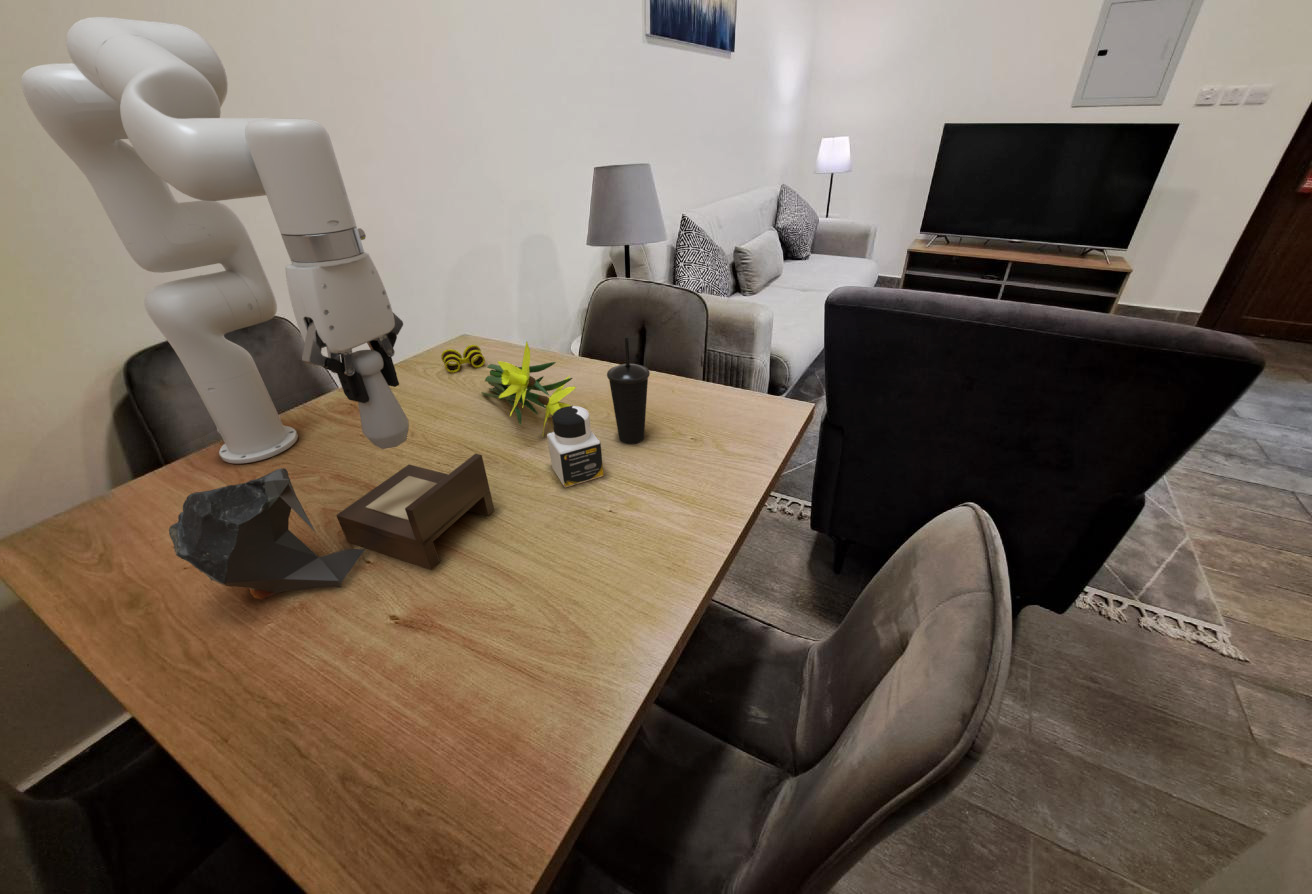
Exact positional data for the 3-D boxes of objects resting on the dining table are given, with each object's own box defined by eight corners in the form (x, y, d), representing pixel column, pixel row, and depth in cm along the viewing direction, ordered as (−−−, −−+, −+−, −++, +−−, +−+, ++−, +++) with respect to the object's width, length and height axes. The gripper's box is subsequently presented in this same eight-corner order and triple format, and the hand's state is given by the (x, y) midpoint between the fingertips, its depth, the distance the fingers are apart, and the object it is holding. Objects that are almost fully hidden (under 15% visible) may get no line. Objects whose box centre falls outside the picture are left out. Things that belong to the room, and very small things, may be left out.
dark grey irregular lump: (270, 546, 78) (214, 443, 69) (372, 547, 78) (329, 442, 68) (196, 625, 66) (116, 513, 56) (316, 626, 66) (255, 513, 56)
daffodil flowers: (541, 381, 127) (611, 395, 98) (500, 427, 123) (560, 456, 95) (488, 329, 118) (548, 329, 89) (443, 378, 115) (490, 393, 86)
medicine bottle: (564, 488, 88) (556, 426, 82) (551, 467, 94) (542, 407, 87) (604, 476, 91) (598, 415, 84) (589, 457, 96) (582, 398, 90)
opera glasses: (447, 377, 130) (443, 359, 127) (443, 366, 133) (439, 349, 130) (487, 369, 134) (484, 352, 131) (481, 358, 137) (478, 341, 134)
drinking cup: (646, 449, 98) (643, 347, 87) (607, 446, 99) (598, 345, 89) (655, 429, 104) (652, 331, 94) (617, 426, 106) (611, 329, 95)
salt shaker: (422, 434, 75) (396, 347, 68) (392, 455, 70) (361, 364, 63) (389, 428, 77) (360, 343, 70) (358, 448, 72) (324, 359, 65)
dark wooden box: (347, 541, 78) (322, 484, 72) (416, 489, 89) (399, 435, 83) (431, 570, 73) (411, 510, 67) (494, 510, 84) (481, 454, 78)
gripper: (361, 232, 68) (401, 365, 77) (228, 261, 55) (296, 416, 64) (406, 235, 65) (441, 372, 75) (278, 265, 52) (341, 427, 62)
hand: (374, 391), depth 69 cm, fingers closed on salt shaker, 4 cm apart
